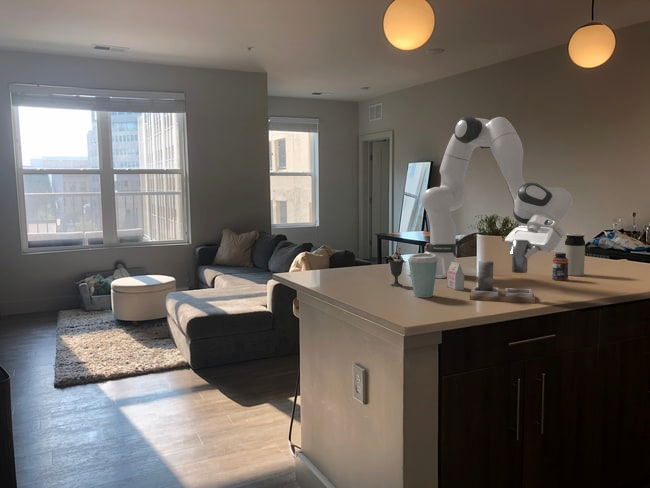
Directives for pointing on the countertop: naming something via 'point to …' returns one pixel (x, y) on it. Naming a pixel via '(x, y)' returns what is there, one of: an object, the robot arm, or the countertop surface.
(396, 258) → the sundae
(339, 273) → the countertop surface
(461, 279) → the milk carton
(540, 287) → the countertop surface
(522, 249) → the loose pin
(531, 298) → the board
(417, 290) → the disposable coffee cup
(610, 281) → the countertop surface
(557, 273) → the supplement bottle
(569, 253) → the travel mug
